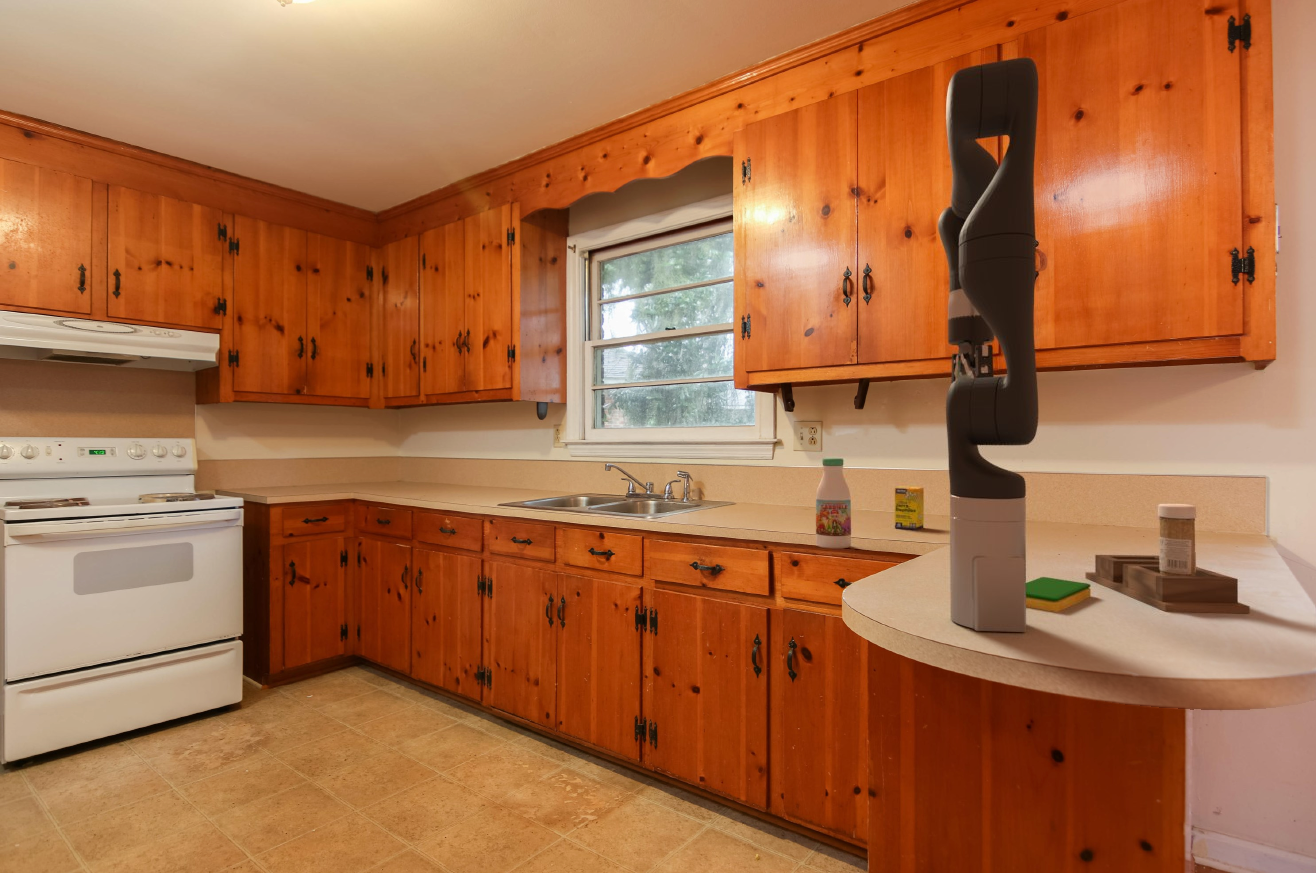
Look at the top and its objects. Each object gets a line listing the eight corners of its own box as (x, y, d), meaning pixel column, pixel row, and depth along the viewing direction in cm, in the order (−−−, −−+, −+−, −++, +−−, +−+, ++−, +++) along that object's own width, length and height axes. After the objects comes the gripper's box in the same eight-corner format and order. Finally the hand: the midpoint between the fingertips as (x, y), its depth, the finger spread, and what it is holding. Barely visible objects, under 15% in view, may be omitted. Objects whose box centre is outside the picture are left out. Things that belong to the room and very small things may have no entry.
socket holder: (1249, 613, 95) (1249, 581, 94) (1165, 611, 96) (1165, 579, 96) (1153, 578, 116) (1153, 553, 116) (1085, 577, 118) (1085, 552, 118)
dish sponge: (1091, 599, 105) (1091, 583, 105) (1056, 615, 96) (1056, 598, 96) (1042, 590, 110) (1042, 576, 110) (1005, 605, 102) (1005, 589, 102)
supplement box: (894, 528, 178) (894, 487, 178) (901, 525, 183) (901, 486, 183) (917, 530, 175) (917, 488, 175) (924, 527, 180) (923, 486, 180)
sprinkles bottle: (1201, 593, 101) (1201, 504, 101) (1189, 598, 98) (1188, 506, 98) (1165, 588, 105) (1165, 502, 105) (1153, 592, 102) (1152, 503, 102)
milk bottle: (811, 543, 155) (810, 457, 155) (843, 543, 156) (843, 457, 156) (822, 549, 148) (821, 459, 148) (856, 548, 148) (855, 458, 148)
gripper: (1009, 309, 112) (1009, 406, 112) (978, 322, 126) (979, 408, 126) (962, 310, 113) (962, 406, 113) (937, 323, 127) (937, 409, 127)
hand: (971, 407), depth 120 cm, fingers open, 8 cm apart
